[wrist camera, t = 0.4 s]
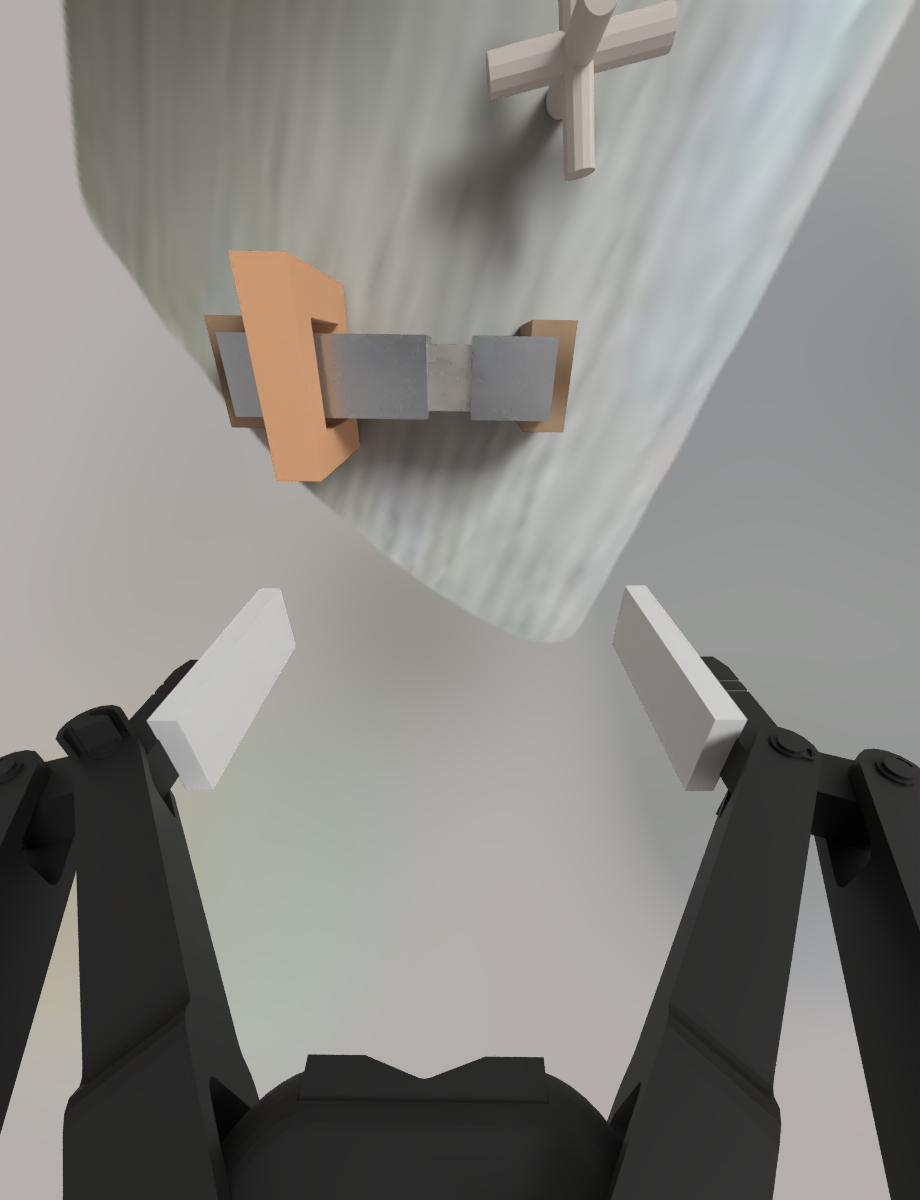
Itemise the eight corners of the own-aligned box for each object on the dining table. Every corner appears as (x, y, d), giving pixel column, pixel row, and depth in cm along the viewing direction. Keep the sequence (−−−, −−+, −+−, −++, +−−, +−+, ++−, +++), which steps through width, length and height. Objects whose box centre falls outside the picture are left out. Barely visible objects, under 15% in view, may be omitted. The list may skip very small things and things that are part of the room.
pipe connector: (494, 216, 30) (506, 162, 22) (473, 3, 26) (477, -176, 17) (634, 183, 30) (704, 113, 21) (640, -46, 25) (736, -261, 16)
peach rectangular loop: (304, 283, 32) (228, 250, 22) (343, 284, 32) (285, 251, 22) (327, 446, 38) (276, 480, 28) (360, 447, 38) (321, 481, 28)
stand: (250, 321, 34) (204, 315, 28) (557, 326, 34) (577, 320, 28) (269, 415, 37) (231, 427, 31) (547, 419, 37) (563, 432, 31)
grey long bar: (249, 334, 31) (215, 331, 27) (545, 339, 31) (559, 336, 27) (265, 408, 34) (235, 416, 29) (538, 412, 33) (549, 421, 29)
